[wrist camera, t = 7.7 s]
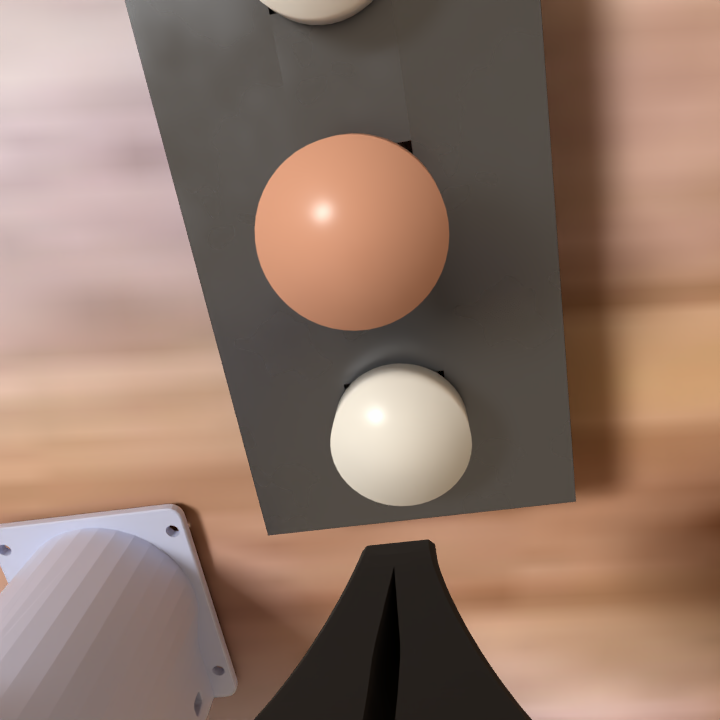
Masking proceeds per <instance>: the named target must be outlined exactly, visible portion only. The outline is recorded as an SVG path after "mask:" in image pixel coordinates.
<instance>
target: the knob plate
mask: <svg viewBox="0 0 720 720" xmlns="http://www.w3.org/2000/svg"><path fill="white" fill-rule="evenodd" d="M125 3H126V7H127V11H128V14H129V18H130V22H131V26H132V29H133V33H134V37H135V41H136V44H137V48H138V52H139V55H140V59H141V63H142V67H143V70H144V74H145V78H146V82H147V85H148V89H149V93H150V96H151V100H152V104H153V108H154V111H155V115H156V119H157V123H158V126H159V130H160V134H161V138H162V141H163V145H164V149H165V152H166V156H167V160H168V164H169V167H170V171H171V175H172V179H173V182H174V186H175V190H176V193H177V197H178V201H179V205H180V208H181V212H182V216H183V220H184V223H185V227H186V231H187V235H188V238H189V242H190V246H191V249H192V253H193V257H194V261H195V264H196V268H197V272H198V276H199V279H200V283H201V287H202V290H203V294H204V298H205V302H206V305H207V309H208V313H209V317H210V320H211V324H212V328H213V332H214V335H215V339H216V343H217V346H218V350H219V354H220V358H221V361H222V365H223V369H224V373H225V376H226V380H227V384H228V387H229V391H230V395H231V399H232V402H233V406H234V410H235V414H236V417H237V421H238V425H239V428H240V432H241V436H242V440H243V443H244V447H245V451H246V455H247V458H248V462H249V466H250V470H251V473H252V477H253V481H254V484H255V488H256V492H257V496H258V499H259V503H260V507H261V511H262V514H263V518H264V522H265V525H266V529H267V533H268V535H276V534H285V533H294V532H303V531H312V530H322V529H331V528H340V527H349V526H358V525H367V524H376V523H385V522H394V521H403V520H412V519H421V518H430V517H439V516H449V515H458V514H467V513H476V512H485V511H494V510H503V509H512V508H521V507H530V506H539V505H548V504H557V503H567V502H576V496H575V482H574V467H573V453H572V439H571V425H570V411H569V397H568V383H567V369H566V354H565V340H564V326H563V312H562V298H561V284H560V270H559V255H558V241H557V227H556V213H555V199H554V185H553V171H552V157H551V142H550V128H549V114H548V100H547V86H546V72H545V58H544V44H543V29H542V15H541V1H540V0H373V1H372V2H371V3H370V4H369V5H368V6H366V7H365V8H364V9H363V10H362V11H360V12H358V13H357V14H355V15H354V16H352V17H350V18H347V19H345V20H343V21H340V22H336V23H333V24H326V25H308V24H302V23H298V22H295V21H291V20H289V19H287V18H285V17H283V16H280V15H279V14H277V13H276V12H274V11H273V10H271V9H270V8H269V7H267V6H266V5H265V4H263V3H262V2H261V1H260V0H125ZM347 133H364V134H370V135H376V136H379V137H383V138H386V139H388V140H391V141H393V142H395V143H399V142H405V141H410V140H411V144H412V151H413V155H414V156H415V157H417V158H418V159H419V160H420V162H421V163H422V164H423V165H424V166H425V167H426V168H427V170H428V171H429V173H430V174H431V176H432V177H433V179H434V181H435V183H436V185H437V187H438V189H439V191H440V194H441V196H442V199H443V202H444V205H445V208H446V212H447V217H448V222H449V246H448V252H447V257H446V261H445V264H444V267H443V270H442V273H441V275H440V277H439V279H438V281H437V283H436V284H435V286H434V287H433V289H432V290H431V292H430V293H429V294H428V296H427V297H426V298H425V299H424V300H423V301H422V302H421V303H420V304H419V305H418V306H417V307H416V308H415V309H414V310H412V311H411V312H410V313H408V314H407V315H405V316H404V317H402V318H400V319H398V320H396V321H394V322H392V323H390V324H387V325H384V326H381V327H378V328H373V329H369V330H358V331H350V330H339V329H333V328H329V327H326V326H322V325H319V324H317V323H315V322H313V321H310V320H308V319H307V318H305V317H303V316H301V315H300V314H298V313H297V312H296V311H294V310H293V309H292V308H290V307H289V306H288V305H287V304H286V303H285V302H284V301H283V300H282V299H281V298H280V297H279V296H278V294H277V293H276V292H275V291H274V289H273V288H272V286H271V285H270V283H269V281H268V280H267V278H266V276H265V274H264V272H263V269H262V267H261V265H260V261H259V258H258V255H257V249H256V243H255V219H256V213H257V208H258V204H259V201H260V198H261V196H262V193H263V191H264V189H265V187H266V185H267V183H268V181H269V179H270V178H271V177H272V175H273V174H274V173H275V171H276V170H277V169H278V168H279V166H280V165H281V164H282V163H283V162H284V161H285V160H286V159H287V158H289V157H290V156H291V155H293V154H294V153H295V152H296V151H298V150H300V149H301V148H303V147H305V146H307V145H309V144H311V143H313V142H316V141H318V140H321V139H324V138H327V137H331V136H335V135H339V134H347ZM398 363H402V364H413V365H418V366H421V367H425V368H427V369H430V370H432V371H434V372H436V371H443V370H444V377H445V379H446V380H447V381H449V382H450V384H451V385H452V386H453V387H454V388H455V389H456V390H457V392H458V393H459V395H460V397H461V398H462V400H463V403H464V405H465V408H466V413H467V417H468V422H469V427H470V432H471V437H472V450H471V456H470V460H469V463H468V466H467V468H466V470H465V472H464V474H463V475H462V477H461V478H460V479H459V481H458V482H457V483H456V484H455V485H454V486H453V487H452V488H451V489H450V490H448V491H447V492H446V493H444V494H443V495H441V496H439V497H438V498H436V499H433V500H431V501H429V502H426V503H422V504H418V505H412V506H392V505H386V504H382V503H378V502H375V501H373V500H370V499H368V498H366V497H364V496H363V495H361V494H359V493H358V492H357V491H355V490H354V489H353V488H352V487H350V486H349V485H348V484H347V483H346V481H345V480H344V479H343V478H342V477H341V475H340V473H339V472H338V470H337V468H336V466H335V464H334V461H333V458H332V454H331V447H330V438H331V431H332V427H333V422H334V418H335V414H336V410H337V407H338V403H339V401H340V399H341V397H342V395H343V393H344V392H345V390H346V389H347V388H348V387H349V385H350V384H351V383H352V382H353V381H355V380H356V379H357V378H358V377H359V376H361V375H362V374H364V373H365V372H368V371H370V370H372V369H374V368H377V367H380V366H384V365H388V364H398Z"/></svg>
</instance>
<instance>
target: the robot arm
mask: <svg viewBox="0 0 720 720" xmlns="http://www.w3.org/2000/svg"><path fill="white" fill-rule="evenodd" d="M170 525H171V526H175V527H177V528H178V529H179V531H174V530H173V529H171V527H170ZM5 545H6V546H8V547H9V548H10V549H8V548H7V547H6V546H5ZM0 566H1V568H2V570H3V572H4V575H5V577H6V579H7V581H8V585H7V586H6V587H5V588H4V590H3V591H2V592H1V593H0V720H207V717H208V714H209V711H210V708H211V705H212V702H213V699H214V698H216V697H228V696H232V695H233V694H234V693H235V691H236V689H237V685H238V681H237V678H236V674H235V671H234V668H233V665H232V662H231V659H230V656H229V652H228V649H227V646H226V643H225V640H224V637H223V633H222V630H221V627H220V624H219V621H218V618H217V614H216V611H215V608H214V605H213V602H212V599H211V596H210V592H209V589H208V586H207V583H206V580H205V577H204V573H203V570H202V567H201V564H200V561H199V558H198V555H197V551H196V548H195V545H194V542H193V539H192V536H191V532H190V529H189V526H188V523H187V520H186V517H185V514H184V512H183V510H182V509H181V508H180V507H179V506H177V505H174V504H164V505H155V506H147V507H138V508H130V509H122V510H113V511H105V512H96V513H88V514H79V515H71V516H63V517H54V518H46V519H37V520H29V521H21V522H12V523H4V524H0ZM217 666H220V667H222V668H219V667H217ZM254 720H532V719H531V718H530V717H529V716H528V715H527V714H526V712H525V711H524V710H523V709H522V708H521V706H520V705H519V704H518V703H517V701H516V700H515V699H514V697H513V696H512V695H511V693H510V692H509V691H508V690H507V688H506V687H505V686H504V684H503V683H502V681H501V680H500V679H499V677H498V676H497V674H496V673H495V672H494V670H493V669H492V667H491V666H490V664H489V663H488V661H487V660H486V658H485V657H484V655H483V654H482V652H481V650H480V649H479V647H478V646H477V644H476V642H475V641H474V639H473V637H472V636H471V634H470V632H469V630H468V629H467V627H466V625H465V623H464V621H463V620H462V618H461V616H460V614H459V612H458V610H457V608H456V606H455V604H454V602H453V600H452V598H451V596H450V594H449V591H448V589H447V587H446V584H445V582H444V579H443V576H442V574H441V571H440V568H439V565H438V561H437V555H436V548H435V544H434V543H432V542H431V541H430V540H419V541H410V542H400V543H390V544H380V545H370V546H367V547H366V548H365V549H364V550H363V552H362V554H361V556H360V559H359V561H358V563H357V565H356V567H355V570H354V572H353V574H352V576H351V578H350V580H349V582H348V584H347V586H346V588H345V589H344V591H343V593H342V595H341V597H340V599H339V601H338V602H337V604H336V606H335V608H334V609H333V611H332V613H331V615H330V616H329V618H328V620H327V622H326V623H325V625H324V627H323V628H322V630H321V631H320V633H319V634H318V636H317V637H316V639H315V641H314V642H313V644H312V645H311V647H310V648H309V650H308V651H307V653H306V654H305V656H304V657H303V659H302V660H301V662H300V663H299V664H298V666H297V667H296V669H295V670H294V671H293V673H292V674H291V675H290V677H289V678H288V679H287V681H286V682H285V683H284V685H283V686H282V687H281V688H280V690H279V691H278V692H277V693H276V695H275V696H274V697H273V698H272V700H271V701H270V702H269V703H268V704H267V705H266V707H265V708H264V709H263V710H262V711H261V712H260V713H259V715H258V716H257V717H256V718H255V719H254Z"/></svg>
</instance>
